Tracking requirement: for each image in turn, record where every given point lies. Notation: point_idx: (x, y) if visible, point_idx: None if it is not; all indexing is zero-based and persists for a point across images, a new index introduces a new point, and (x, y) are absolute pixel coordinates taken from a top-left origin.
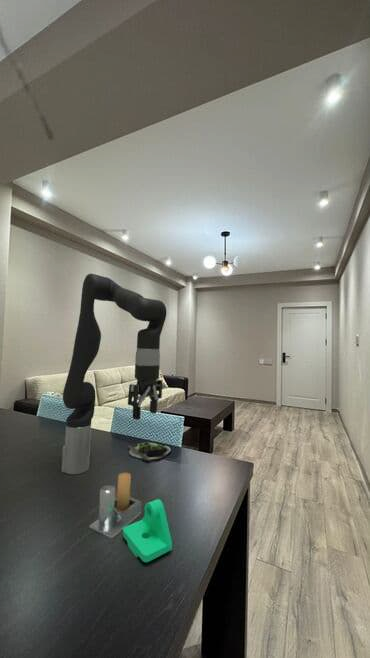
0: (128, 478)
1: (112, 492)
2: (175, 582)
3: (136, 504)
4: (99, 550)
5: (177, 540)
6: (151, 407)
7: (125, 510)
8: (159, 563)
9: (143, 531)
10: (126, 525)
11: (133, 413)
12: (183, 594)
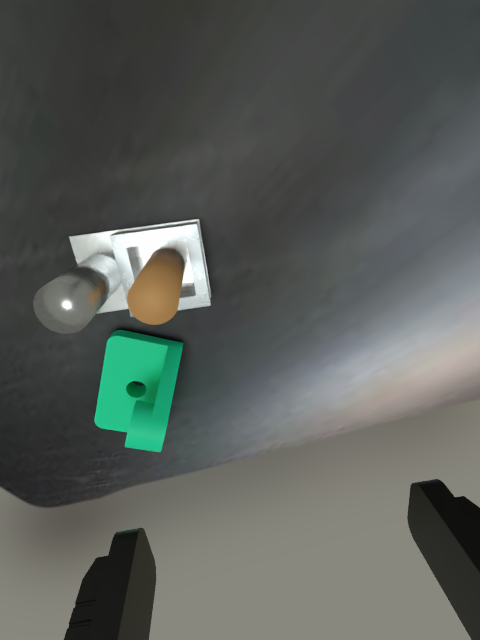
0: (153, 323)
1: (67, 332)
2: (119, 462)
3: (189, 306)
4: None
5: (197, 411)
6: (447, 548)
7: None
8: None
9: (140, 377)
10: None
11: (76, 619)
12: (112, 481)
